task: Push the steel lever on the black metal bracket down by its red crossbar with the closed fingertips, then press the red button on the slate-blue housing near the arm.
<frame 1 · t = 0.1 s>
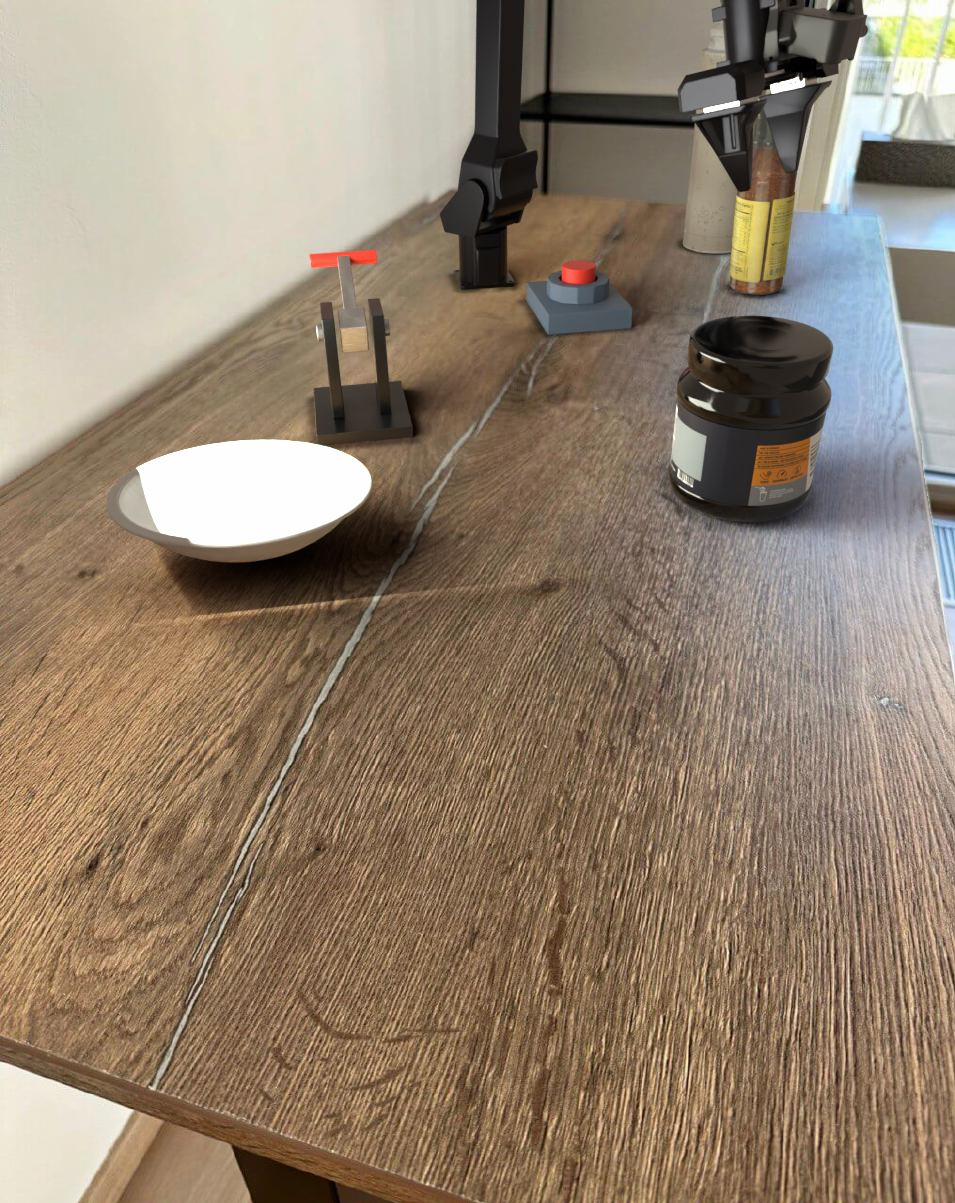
hand: (768, 181, 87), 15 cm above the table, tool pointing down, fingers open, 9 cm apart
thermos bottle: (713, 246, 125), on the table
lever: (348, 295, 83), point 9 cm above the table, hinge at 15.0°
button: (578, 273, 102), point 4 cm above the table, slide at 0.1 cm
sauce bottle: (753, 290, 111), on the table
button box: (576, 314, 105), on the table
supplement container: (736, 494, 72), on the table
dish: (252, 552, 67), on the table
bracket: (362, 418, 84), on the table
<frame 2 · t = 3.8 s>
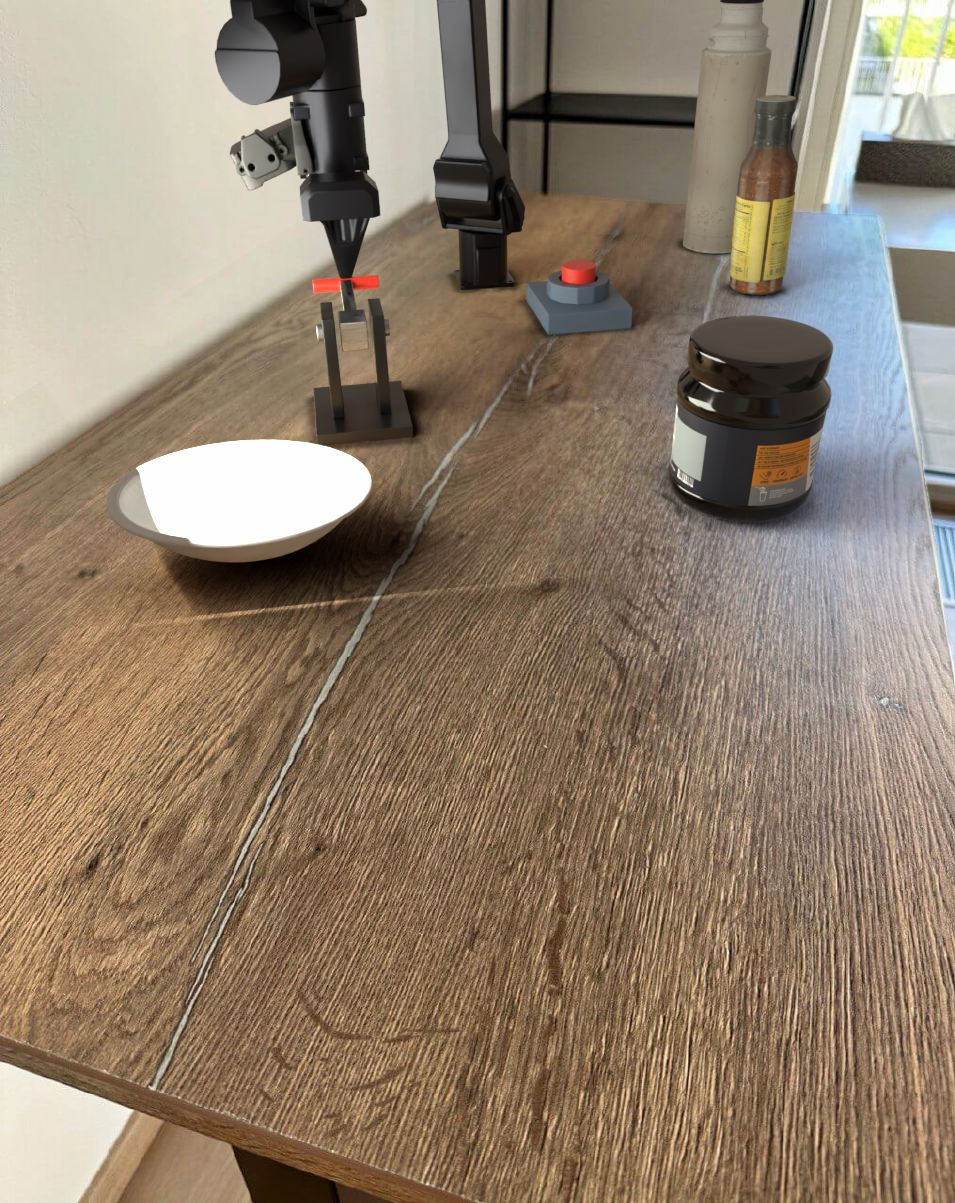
hand: (345, 277, 88), 9 cm above the table, tool pointing down, fingers closed, pressing on lever
lever: (349, 307, 83), point 8 cm above the table, hinge at 2.4°, touching gripper
everything else where it was.
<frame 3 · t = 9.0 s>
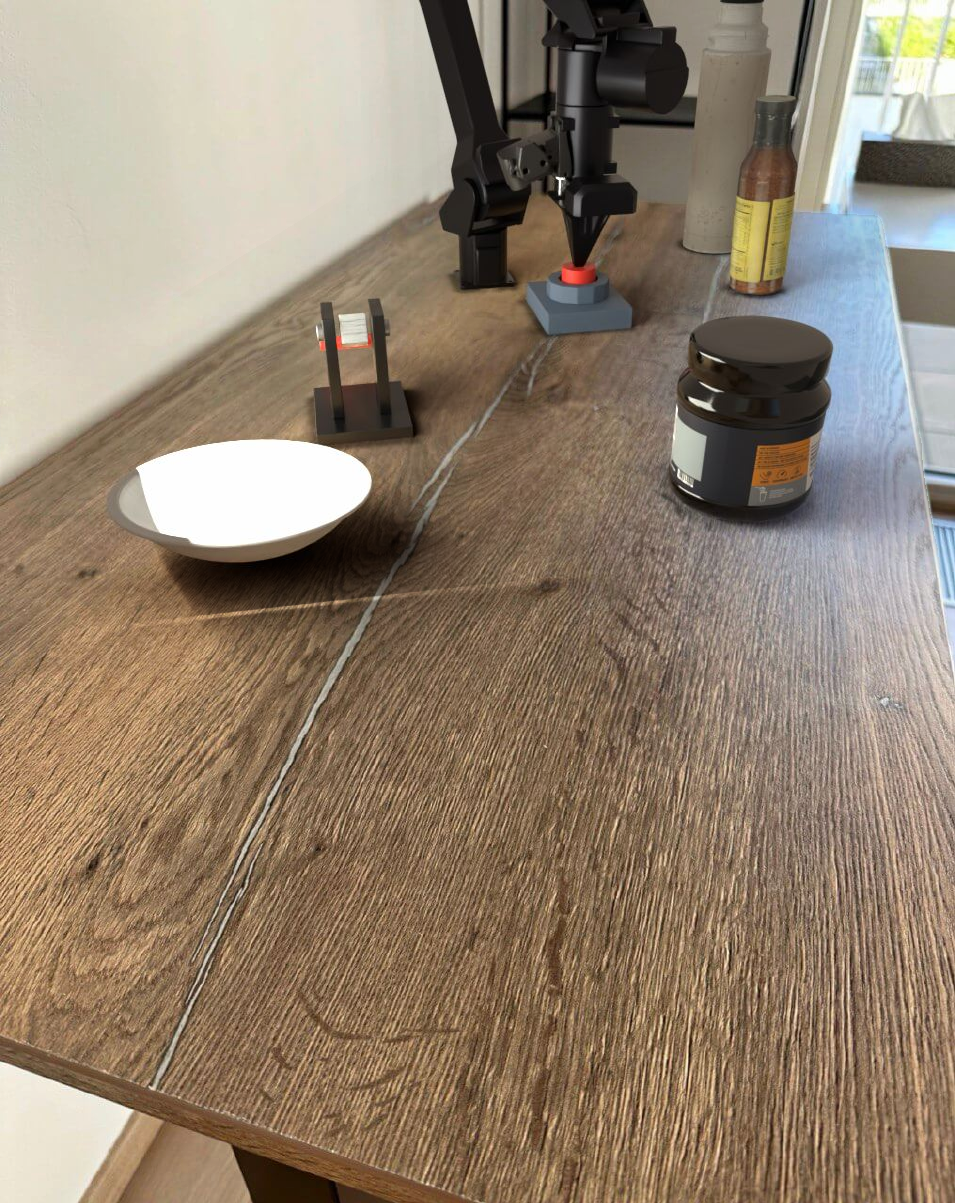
hand: (578, 266, 102), 5 cm above the table, tool pointing down, fingers closed, pressing on button
lever: (352, 335, 84), point 6 cm above the table, hinge at -25.0°
button: (578, 274, 102), point 4 cm above the table, slide at 0.0 cm, touching gripper
everything else where it was.
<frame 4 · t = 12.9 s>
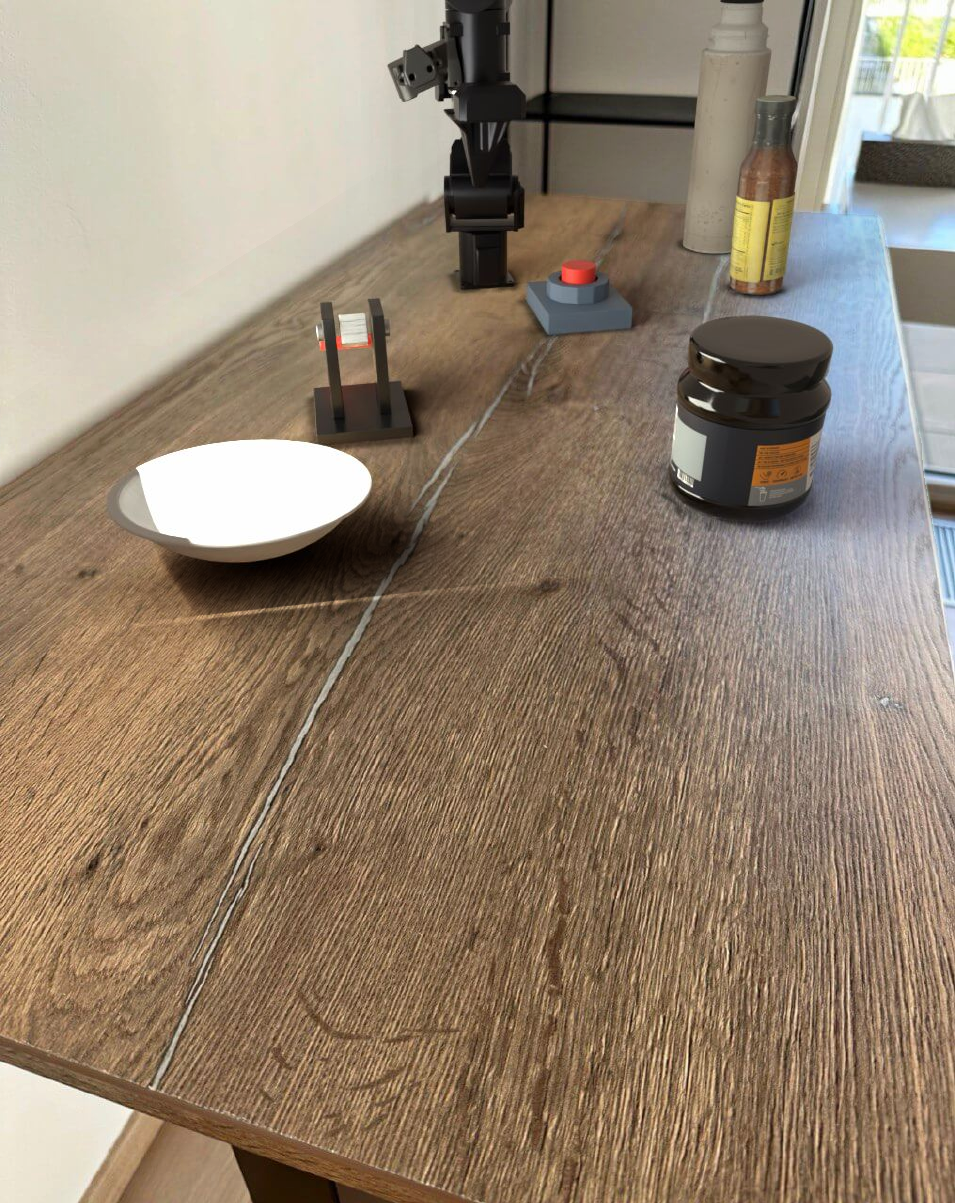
hand: (478, 187, 98), 13 cm above the table, tool pointing down, fingers closed
button: (578, 273, 102), point 4 cm above the table, slide at 0.1 cm
everything else where it was.
at the end: lever at -25° (first picture: +15°); button pushed in 1.2 cm at the most during the clip, back to where it started at the end; button slide at 0.1 cm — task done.
